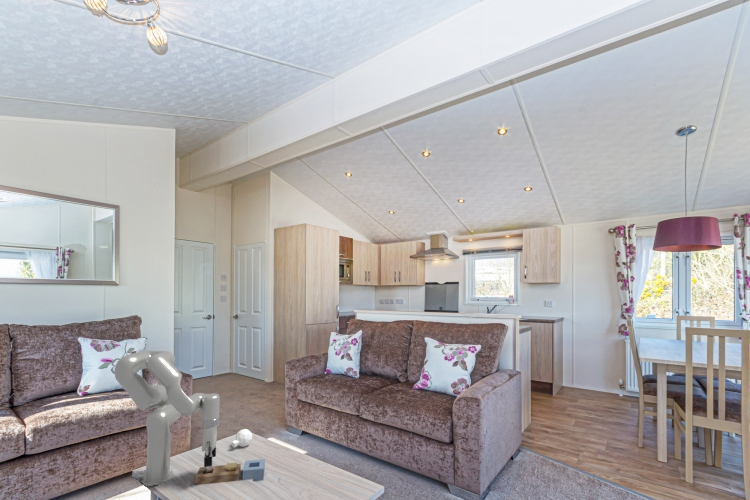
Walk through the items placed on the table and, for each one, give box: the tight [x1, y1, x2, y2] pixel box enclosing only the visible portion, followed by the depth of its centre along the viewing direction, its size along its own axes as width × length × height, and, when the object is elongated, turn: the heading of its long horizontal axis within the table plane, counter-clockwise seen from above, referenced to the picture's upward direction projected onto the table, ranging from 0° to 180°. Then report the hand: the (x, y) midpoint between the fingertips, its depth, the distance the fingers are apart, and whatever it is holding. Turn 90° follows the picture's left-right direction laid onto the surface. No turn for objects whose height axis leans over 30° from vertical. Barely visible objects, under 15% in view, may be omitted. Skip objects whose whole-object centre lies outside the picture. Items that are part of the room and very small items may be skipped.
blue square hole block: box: [242, 458, 266, 482], centre depth 180 cm, size 9×10×5 cm
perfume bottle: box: [231, 428, 253, 448], centre depth 213 cm, size 9×9×12 cm
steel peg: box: [205, 455, 213, 474], centre depth 176 cm, size 3×3×10 cm
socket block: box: [194, 463, 242, 486], centre depth 177 cm, size 18×10×4 cm, turn 103°
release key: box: [225, 462, 238, 472], centre depth 178 cm, size 4×4×5 cm
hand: (210, 461), depth 176 cm, fingers open, 9 cm apart
